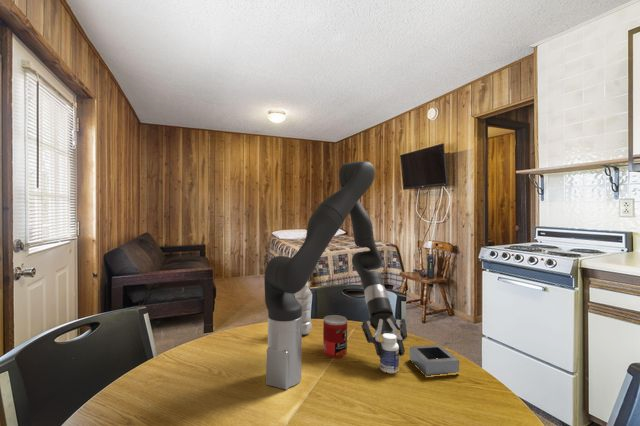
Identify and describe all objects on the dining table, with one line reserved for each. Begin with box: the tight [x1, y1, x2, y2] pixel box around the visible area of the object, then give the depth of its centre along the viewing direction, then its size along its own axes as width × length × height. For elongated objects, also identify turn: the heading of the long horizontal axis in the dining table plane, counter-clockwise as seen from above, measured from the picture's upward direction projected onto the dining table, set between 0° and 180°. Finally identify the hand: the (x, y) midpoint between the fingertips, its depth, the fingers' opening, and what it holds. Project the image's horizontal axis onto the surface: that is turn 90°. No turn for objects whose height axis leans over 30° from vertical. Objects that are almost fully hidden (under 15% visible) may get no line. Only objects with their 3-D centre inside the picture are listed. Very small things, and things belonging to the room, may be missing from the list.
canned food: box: [322, 314, 348, 359], centre depth 97 cm, size 8×8×11 cm
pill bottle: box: [379, 333, 400, 374], centre depth 87 cm, size 5×5×10 cm
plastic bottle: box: [294, 281, 313, 336], centre depth 112 cm, size 6×7×20 cm
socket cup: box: [409, 344, 460, 376], centre depth 88 cm, size 10×10×4 cm
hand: (391, 355), depth 85 cm, fingers open, 5 cm apart
